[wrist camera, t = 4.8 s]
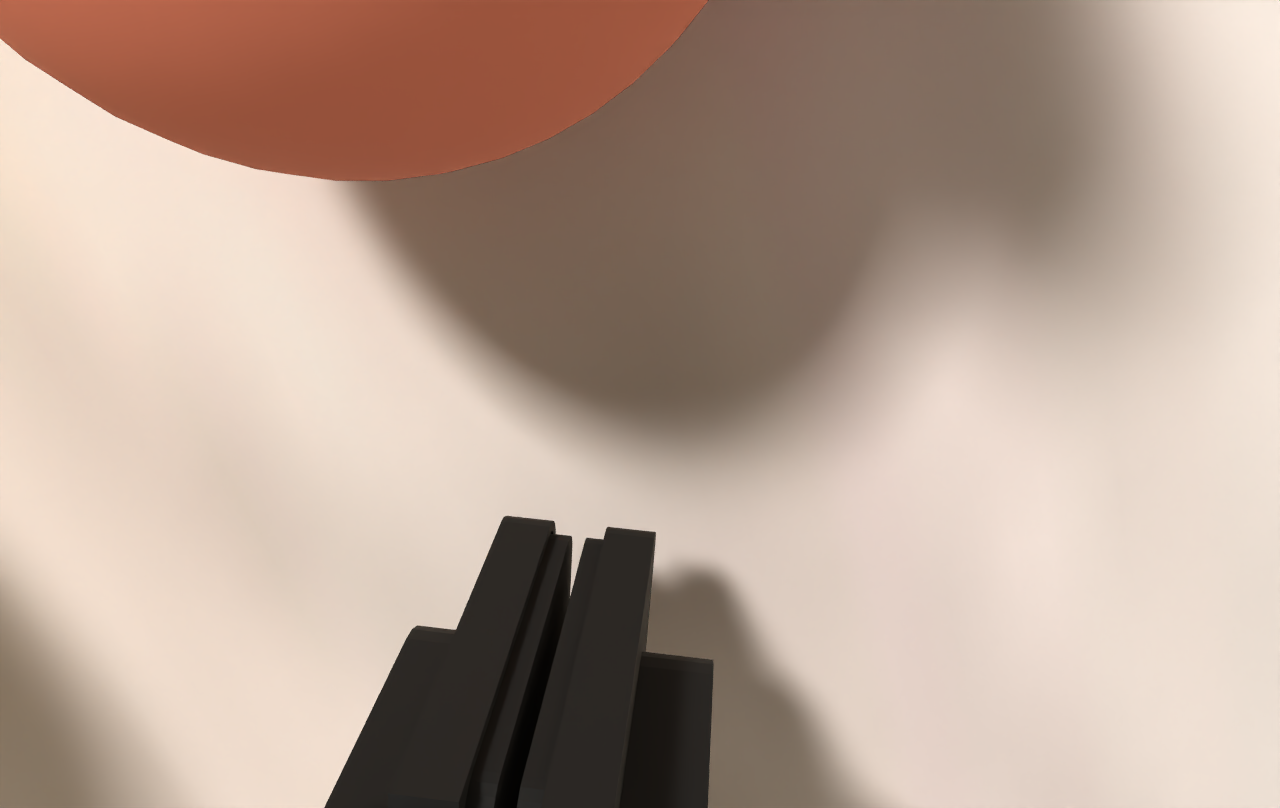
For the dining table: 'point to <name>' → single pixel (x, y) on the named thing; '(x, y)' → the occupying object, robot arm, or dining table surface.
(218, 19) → the ball
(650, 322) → the dining table surface
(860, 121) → the dining table surface
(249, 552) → the dining table surface
